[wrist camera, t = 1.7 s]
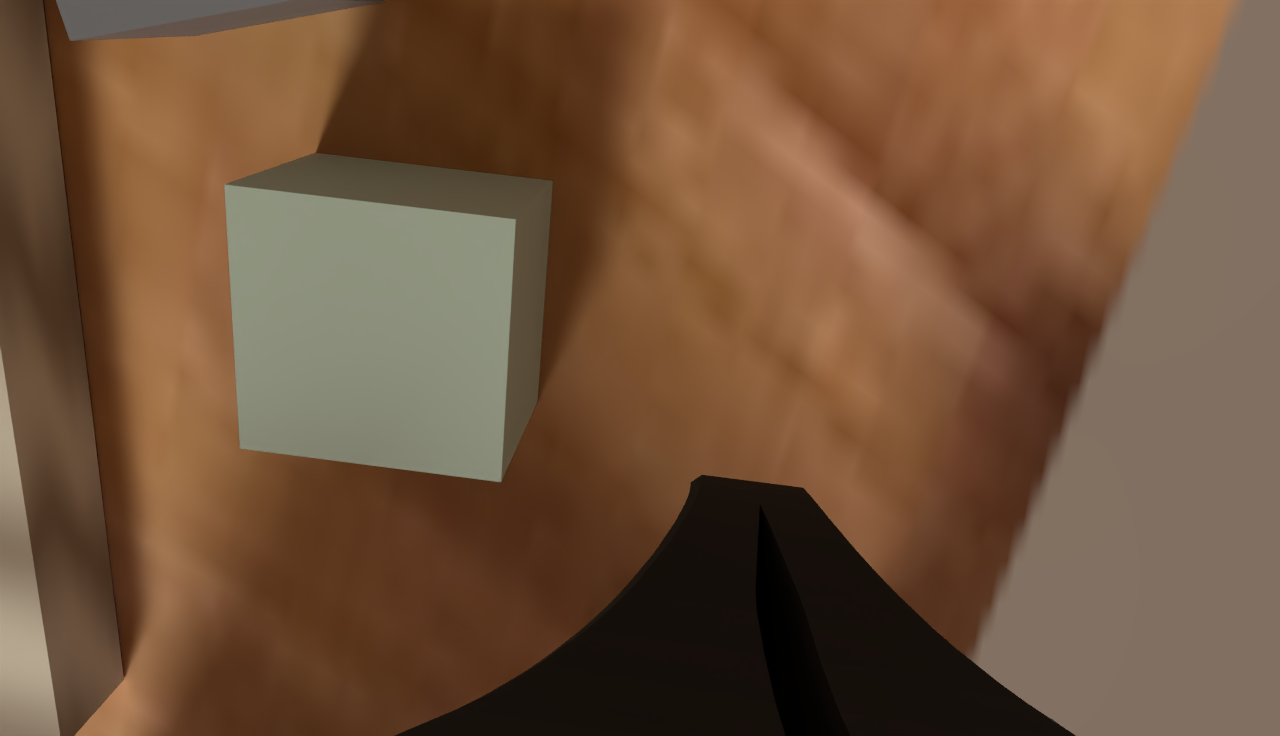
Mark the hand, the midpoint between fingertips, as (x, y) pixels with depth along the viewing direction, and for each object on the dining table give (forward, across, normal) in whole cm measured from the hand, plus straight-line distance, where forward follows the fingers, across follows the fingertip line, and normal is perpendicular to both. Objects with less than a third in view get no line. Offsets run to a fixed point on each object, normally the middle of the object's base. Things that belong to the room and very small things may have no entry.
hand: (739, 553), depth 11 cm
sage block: (+10, +6, 0) cm, 12 cm away
